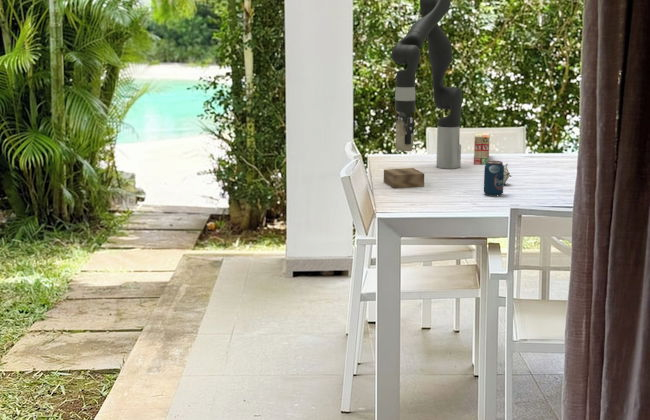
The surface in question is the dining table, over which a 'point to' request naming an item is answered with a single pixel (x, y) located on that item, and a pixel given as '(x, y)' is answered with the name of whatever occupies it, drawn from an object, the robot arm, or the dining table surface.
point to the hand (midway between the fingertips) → (404, 142)
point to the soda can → (493, 178)
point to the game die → (506, 174)
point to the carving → (402, 138)
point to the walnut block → (403, 178)
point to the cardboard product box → (481, 148)
